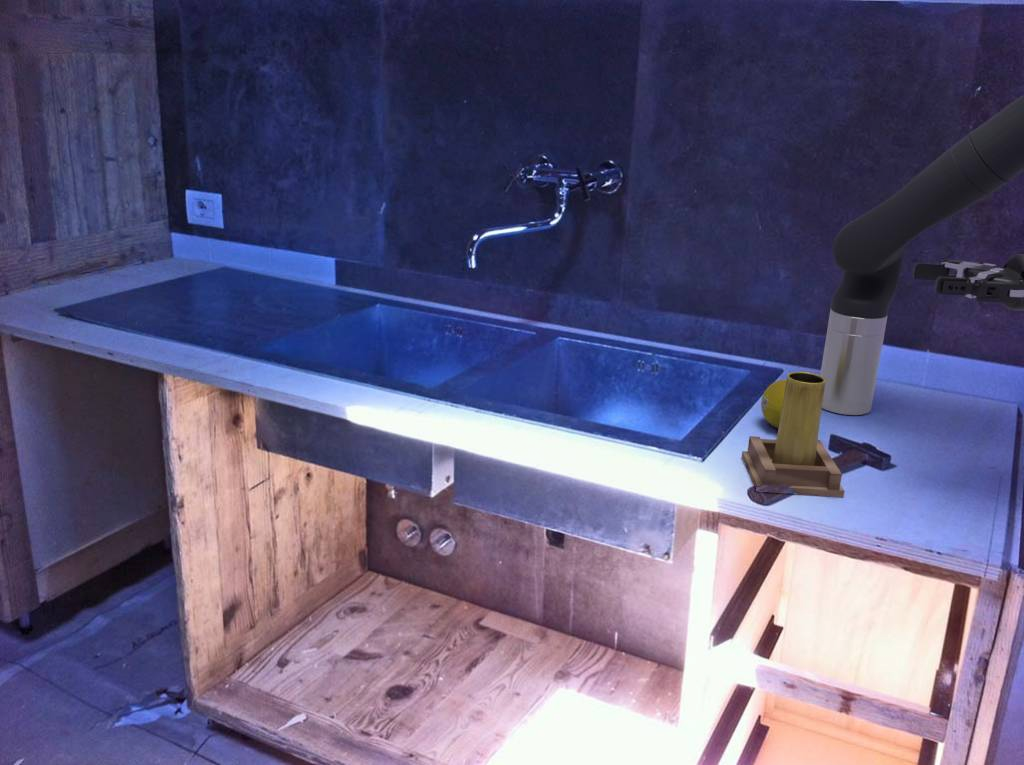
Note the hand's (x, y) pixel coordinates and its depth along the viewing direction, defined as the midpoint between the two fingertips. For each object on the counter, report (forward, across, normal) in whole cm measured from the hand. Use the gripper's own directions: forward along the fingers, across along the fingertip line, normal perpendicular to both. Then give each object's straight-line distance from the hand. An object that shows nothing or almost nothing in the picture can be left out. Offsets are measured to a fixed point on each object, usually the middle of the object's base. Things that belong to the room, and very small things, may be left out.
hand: (924, 277), depth 126 cm
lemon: (+11, -18, +30) cm, 37 cm away
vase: (+14, +1, +29) cm, 32 cm away
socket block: (+14, +1, +30) cm, 33 cm away
